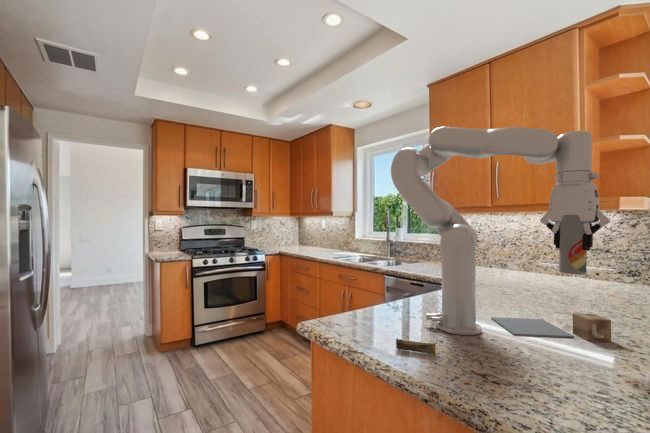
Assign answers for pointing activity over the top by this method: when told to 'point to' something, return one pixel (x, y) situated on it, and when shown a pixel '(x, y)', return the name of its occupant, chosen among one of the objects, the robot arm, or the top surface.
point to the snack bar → (416, 346)
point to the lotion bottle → (572, 246)
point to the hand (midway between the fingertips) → (572, 248)
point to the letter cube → (592, 327)
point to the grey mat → (531, 327)
